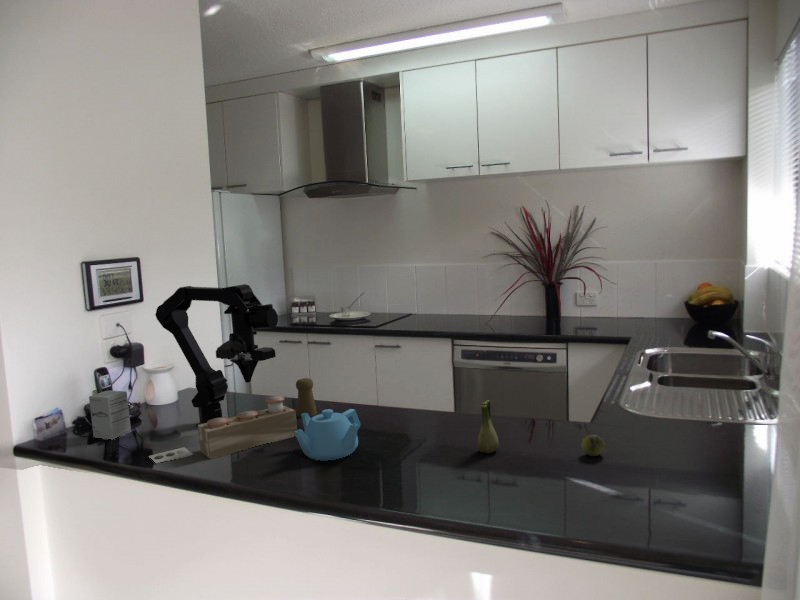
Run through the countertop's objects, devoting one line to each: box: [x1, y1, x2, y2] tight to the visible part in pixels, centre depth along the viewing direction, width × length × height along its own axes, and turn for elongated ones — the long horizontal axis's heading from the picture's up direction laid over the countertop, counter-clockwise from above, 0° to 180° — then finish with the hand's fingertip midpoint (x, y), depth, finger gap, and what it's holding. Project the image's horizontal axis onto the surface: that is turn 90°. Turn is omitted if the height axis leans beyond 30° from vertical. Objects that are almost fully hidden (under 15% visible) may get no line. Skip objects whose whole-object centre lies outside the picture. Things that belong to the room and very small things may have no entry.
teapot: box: [294, 408, 362, 462], centre depth 153 cm, size 15×15×11 cm
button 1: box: [207, 416, 229, 429], centre depth 160 cm, size 5×5×5 cm
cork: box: [295, 377, 318, 418], centre depth 189 cm, size 6×6×11 cm
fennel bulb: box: [477, 400, 500, 454], centre depth 147 cm, size 6×5×12 cm
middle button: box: [236, 410, 258, 421], centre depth 165 cm, size 5×5×5 cm
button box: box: [197, 404, 298, 460], centre depth 165 cm, size 8×24×7 cm, turn 126°
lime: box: [580, 434, 606, 457], centre depth 140 cm, size 4×5×5 cm
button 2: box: [264, 395, 285, 415], centre depth 169 cm, size 5×5×5 cm
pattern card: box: [148, 446, 193, 464], centre depth 159 cm, size 7×9×1 cm
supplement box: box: [88, 390, 132, 441], centre depth 180 cm, size 7×7×13 cm
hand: (247, 382), depth 179 cm, fingers closed
